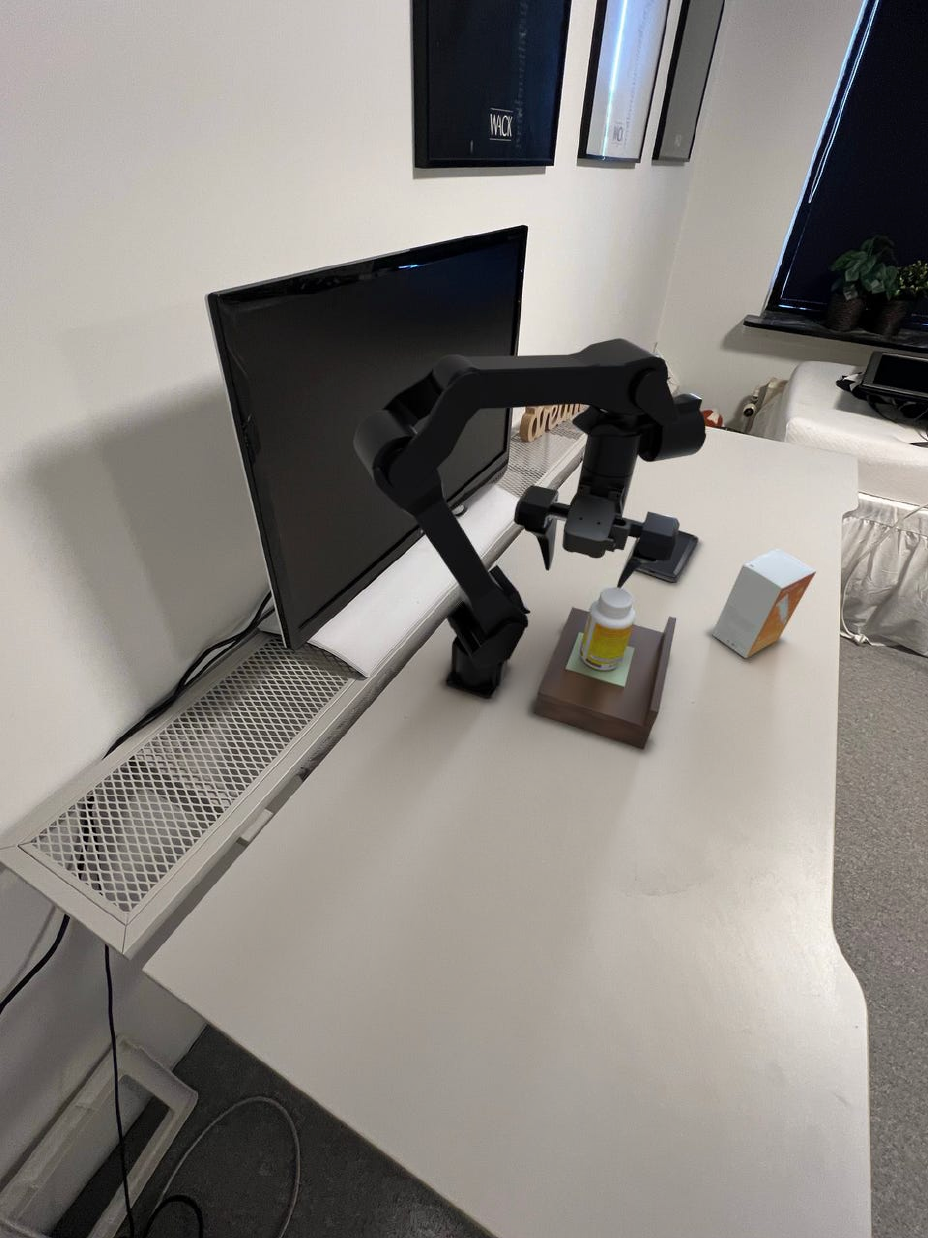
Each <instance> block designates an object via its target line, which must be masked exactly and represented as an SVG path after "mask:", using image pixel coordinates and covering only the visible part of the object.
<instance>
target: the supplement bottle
mask: <svg viewBox="0 0 928 1238" xmlns="http://www.w3.org/2000/svg"><path fill="white" fill-rule="evenodd" d="M633 603H634V596H633V595H632V594H631V593H630V592H629V591H628V590H626V589H624V588H622V587H621V588H618V587H617V586H609V587H605V588H604V589H602V590H601V591H600V594H599V597H598V598H597V599H595V600H594V601H593V602H591V604H590V605H589V606H590V607H589V609H588V612H589V614H588V618H587V622H586V626H585V630H584V634H583V638H582V643H581V647H580V656H581V658H582V660H583V661H584V662H585V663H586V664H587V665H589V666H590V667H592V668H595V669H598V670H611V669H614V668H616V667H617V666H619V665H620V663H621V661H622V659H623V656H624V652H625V649H626V646H627V643H628V640H629V637H630V633H631V630H632V627H633V624H635V621H636V612H635V610H634V607H633Z"/></svg>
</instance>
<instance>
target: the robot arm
mask: <svg viewBox="0 0 928 1238" xmlns="http://www.w3.org/2000/svg"><path fill="white" fill-rule="evenodd" d="M668 380H669V368H668V365H667V363H666V360H665V359H664V358H662V357H661V356H659V355H657V354H656V353H653V352H651V351H649V350H647V349H645V348H643V347H642V346H639V345H637V344H636V343H633V342H631V341H629V340H628V339H624V338H613V339H608V340H604V341H599V342H595V343H592V344H589V345H587V346H586V347H585V348H583V349H581V350H579V351H578V352H573V353H568V354H536V355H535V354H531V355H527V354H526V355H489V356H487V355H486V356H485V355H484V356H483V355H482V356H464V355H461V354H458V353H453V354H447V355H443V356H442V357H441V358H439V359H438V360H436V362H434V364H433V365H432V366H431V367H430V368H429V369H428V370H427V371H426V372H425V373H424V374H423V375H422V376H420V377H419V378H417V379H416V380H414V381H412V382H411V383H409V384H407V385H406V386H404V387H402V388H400V389H398V390H397V391H396V392H395V393H394V394H392V396H390V397H389V399H388V400H387V401H386V402H385V403H384V404H383V405H382V406H381V407H380V408H379V409H378V410H377V411H373V412H372V413H370V414H368V415H367V416H366V417H364V418H363V420H362V421H360V423H359V425H358V426H357V428H356V430H355V433H354V437H353V440H352V442H353V448H354V450H355V453H356V455H357V457H358V458H359V459H360V461H361V463H362V464H363V466H364V467H365V469H366V471H367V472H368V473H369V475H370V477H371V478H372V480H373V482H374V483H375V485H376V486H377V488H378V489H379V490H380V491H381V492H382V493H383V494H384V495H385V496H386V497H387V498H388V499H389V500H391V502H392V503H394V504H395V505H396V506H397V507H398V508H399V509H400V510H401V511H403V512H404V513H406V514H407V515H409V516H410V517H411V518H413V520H415V522H416V523H417V524H418V526H419V527H420V529H421V530H422V533H424V535H425V536H426V538H427V539H428V540H429V542H430V544H431V545H432V547H433V548H434V550H435V551H436V553H437V554H438V556H439V557H440V558H441V560H442V562H443V563H444V565H445V566H446V567H447V569H448V570H449V572H450V573H451V575H452V576H453V578H454V579H455V580H456V582H457V584H458V588H459V589H458V590H459V595H460V597H461V601H460V602H459V603H458V604H457V605H456V606H454V608H453V609H451V611H450V612H449V613H448V614H447V615H446V620H447V622H448V624H449V627H450V628H451V629H452V630H453V632H454V634H455V637H454V639H453V641H452V642H451V659H450V672H449V674H448V675H447V677H446V679H445V685H447V686H449V687H452V688H455V689H458V690H460V691H464V692H467V693H470V694H473V695H476V696H479V697H483V698H485V699H491V698H492V697H493V696H494V694H495V691H496V690H497V688H499V687H501V685H502V683H503V681H504V679H505V677H506V673H507V665H508V661H509V660H511V658H512V656H513V653H514V652H515V650H516V648H517V647H518V644H519V643H520V641H521V639H522V637H523V635H524V633H525V630H526V628H528V627H529V617H528V615H529V614H531V612H532V611H531V610H530V608H529V607H528V606H527V605H526V603H525V602H524V601H523V598H522V595H521V594H520V591H519V590H518V589H517V587H516V586H515V585H514V584H513V582H512V581H511V580H510V579H509V577H508V575H506V573H505V572H504V571H503V570H502V568H501V566H500V565H499V564H496V565H494V567H492V568H491V569H490V570H488V569H487V567H486V565H485V564H484V562H483V560H482V559H481V557H480V555H479V554H478V552H477V550H476V549H475V547H474V545H473V543H472V541H471V540H470V539H469V537H468V536H467V534H466V531H465V530H464V529H463V527H462V525H461V524H460V522H459V520H458V519H457V517H456V514H455V513H454V512H453V511H452V509H451V507H450V506H449V504H448V502H447V500H446V497H445V493H444V492H445V491H444V484H443V479H442V476H441V473H440V470H439V467H440V466H441V465H442V464H443V463H444V462H445V460H447V459H448V457H450V455H451V454H452V453H453V451H454V449H455V448H456V445H457V444H458V442H459V439H460V437H461V435H462V433H463V432H464V429H465V428H466V425H467V423H468V422H469V421H470V420H471V419H472V418H473V417H474V416H475V415H476V413H478V412H479V411H480V410H481V411H483V410H485V411H486V410H501V409H516V408H517V409H519V408H532V407H535V408H536V407H537V408H538V407H550V406H551V407H552V406H566V405H567V406H569V405H582V406H583V405H584V406H587V408H586V409H585V410H583V411H581V412H579V413H578V414H577V415H576V416H575V417H574V418H572V420H571V423H572V425H573V426H574V427H575V428H577V429H578V430H580V431H581V432H582V433H584V434H585V435H586V436H587V438H586V442H585V447H584V452H583V457H582V462H581V467H580V472H579V478H578V483H577V487H576V491H575V494H574V495H573V497H572V498H571V501H570V502H569V504H567V503H563V502H559V501H558V500H559V494H560V493H559V490H557V489H552V488H547V487H543V486H540V485H534V484H531V485H529V486H528V487H527V488H526V489H525V490H524V492H523V493H522V495H521V496H520V497H519V499H518V501H517V502H516V505H515V508H514V516H513V522H514V523H515V524H516V525H517V526H522V527H523V530H524V531H526V532H528V533H530V534H532V535H533V536H534V537H536V540H537V543H538V545H539V548H540V552H541V556H542V560H543V564H544V567H545V571H548V572H549V571H550V569H551V568H552V564H553V559H554V555H555V554H554V553H555V544H556V536H557V535H556V534H557V526H558V521H561V522H564V526H563V533H562V544H561V545H562V549H563V550H564V551H565V552H568V553H570V554H571V553H572V554H573V553H575V554H576V553H577V554H579V555H583V556H588V557H589V558H592V559H601V558H603V557H604V556H605V554H606V552H611V553H615V551H616V550H619V551H624V550H625V548H626V544H627V542H628V538H629V537H631V538H635V540H634V543H633V544H632V547H631V549H630V552H629V553H628V556H627V559H626V561H625V562H624V565H623V567H622V570H621V572H620V575H619V579H618V582H617V585H616V587H618V588H622V587H623V586H624V584H625V583H626V582H627V581H628V580H629V578H630V577H631V576H632V575H633V573H634V572H635V571H637V570H636V569H637V568H638V567H639V566H640V565H641V564H642V563H645V562H651V563H654V562H656V561H657V560H662V561H667V560H670V558H671V555H672V553H673V550H674V546H675V543H676V539H677V535H678V530H680V525H681V523H680V522H679V519H678V518H677V517H676V516H675V517H674V516H670V515H667V514H661V513H657V512H652V511H647V513H646V516H645V519H644V521H641V520H636V519H632V518H627V517H623V515H624V511H625V507H626V503H627V499H628V495H629V492H630V488H631V484H632V480H633V476H634V473H635V469H636V464H637V460H638V457H639V459H641V460H642V461H643V462H647V463H653V462H659V461H665V460H671V459H676V458H677V459H678V458H684V457H689V456H693V455H695V454H696V453H698V452H699V451H700V450H701V449H702V448H703V445H704V444H705V442H706V438H707V433H706V420H705V417H704V414H703V412H702V411H701V407H702V403H703V399H702V398H701V397H699V396H697V395H695V394H694V393H691V392H686V393H681V394H678V395H676V396H673V395H672V392H671V388H670V386H669V382H668ZM425 418H427V419H426V421H425V423H424V425H423V426H422V427H421V428H420V430H419V431H416V430H415V428H414V427H415V426H416V425H417V424H418V423H419V422H420V421H421V420H423V419H425Z"/></svg>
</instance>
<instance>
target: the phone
mask: <svg viewBox="0 0 928 1238" xmlns="http://www.w3.org/2000/svg"><path fill="white" fill-rule="evenodd" d="M698 542H699V537H698V536H697V535H695V534H692V533H689V532H687V531H682V530H680V529H679V530H678V535H677V539H676V543H675V546H674V550H673V553H672V555H671V558H670V560H667V561H662V560H657V561H656V562H654V563H651V562H645V563H642V564H641V565H640V566H639V567H638V568H637V569H636V570H635V571H638V572H641V573H644V574H645V575H646V574H647V575H649V576H651V577H655V578H657V579H661V580H663V581H666V582H669V583H675V582H678V580H679V577H680V576H681V574H682V572H683V571H684V569H685V567H686V565H687V563H688V561H690V557H691V556H692V554H693V553H694V551H695V549H696V547H697V545H698Z"/></svg>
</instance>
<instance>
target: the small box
mask: <svg viewBox="0 0 928 1238" xmlns="http://www.w3.org/2000/svg"><path fill="white" fill-rule="evenodd" d="M816 573H817V570H816V569H814V568H812V567H810V566H809V565H807V564H805V563H804V562H802V561H800V560H799V559H797V558H795V557H793V556H792V555H790V554H789V553H787V552H785V551H783V550H781V549H780V548H776V549H773V550H771V551H769V552H766V553H764V554H762V555H759V556H757V557H756V558H754V559H752V560H750V561H748V562H746V563H743V564H742V566H741V568H740V570H739V573H738V575H737V577H736V579H735V581H734V583H733V585H732V588H731V589H730V592H729V594H728V597H727V598H726V602H725V604H724V606H723V609H722V610H721V613H720V615H719V616H718V619H717V621H716V624H715V625H714V627H713V630H712V632H711V635H712V636H714V637H715V638H716V639H718V640H719V641H721V642H722V643H723V644H725V645H726V646H727V647H728V648H730V649H732V650H733V651H734V652H736V653H737V654H739V655H740V656H742V657H743V658H744V659H749V658H750V657H751V656H753V655H755V654H756V653H758V652H759V651H761V650H763V649H764V648H766V647H768V646H770V645H771V644H773V643H775V642H778V641H779V640H780V639H781V638H780V637H781V636H782V634H783V632H784V630H785V629H786V627H787V626H788V623H789V621H790V620H791V617H792V616H793V614H794V612H795V611H796V609H797V607H798V606H799V603H800V601H801V600H802V598H803V597H804V595H805V592H806V591H807V589H808V588H809V586H810V584H811V582H812V580H813V578H814V576H815V575H816Z"/></svg>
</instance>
